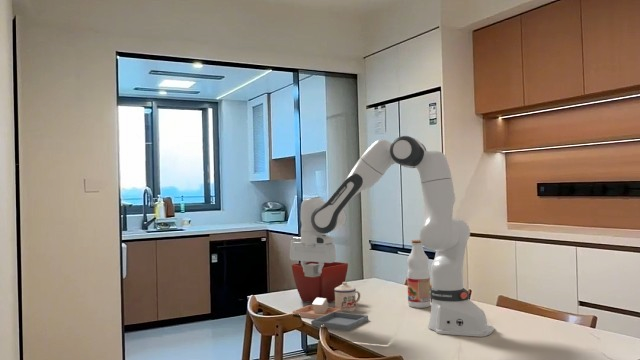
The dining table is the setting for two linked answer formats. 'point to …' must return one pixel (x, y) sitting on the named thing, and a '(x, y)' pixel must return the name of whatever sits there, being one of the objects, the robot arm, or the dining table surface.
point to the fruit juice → (418, 277)
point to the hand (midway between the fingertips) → (312, 272)
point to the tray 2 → (340, 320)
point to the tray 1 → (309, 312)
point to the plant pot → (319, 281)
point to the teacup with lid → (346, 297)
